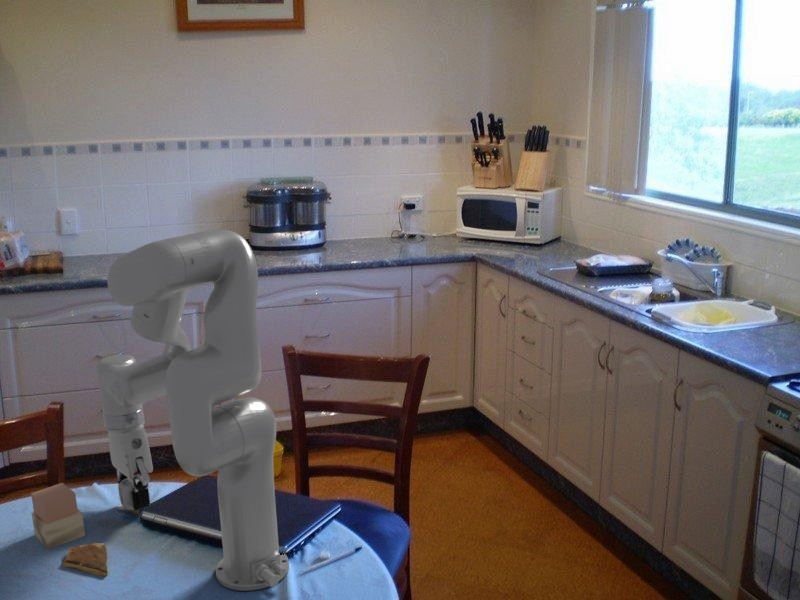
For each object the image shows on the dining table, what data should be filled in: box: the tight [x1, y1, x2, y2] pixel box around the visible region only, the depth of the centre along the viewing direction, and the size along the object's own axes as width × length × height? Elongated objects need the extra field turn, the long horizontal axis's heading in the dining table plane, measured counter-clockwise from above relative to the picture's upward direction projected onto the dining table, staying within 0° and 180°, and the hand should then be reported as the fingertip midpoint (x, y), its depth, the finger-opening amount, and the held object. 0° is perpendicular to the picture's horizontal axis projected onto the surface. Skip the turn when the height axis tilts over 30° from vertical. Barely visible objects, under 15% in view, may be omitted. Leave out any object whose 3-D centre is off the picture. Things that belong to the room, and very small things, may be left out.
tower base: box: [31, 507, 86, 550], centre depth 166 cm, size 7×7×5 cm
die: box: [117, 478, 151, 511], centre depth 174 cm, size 5×5×5 cm
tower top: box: [30, 482, 79, 524], centre depth 165 cm, size 6×6×4 cm
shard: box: [62, 542, 109, 577], centre depth 156 cm, size 11×8×2 cm
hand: (135, 501), depth 175 cm, fingers closed on die, 5 cm apart
